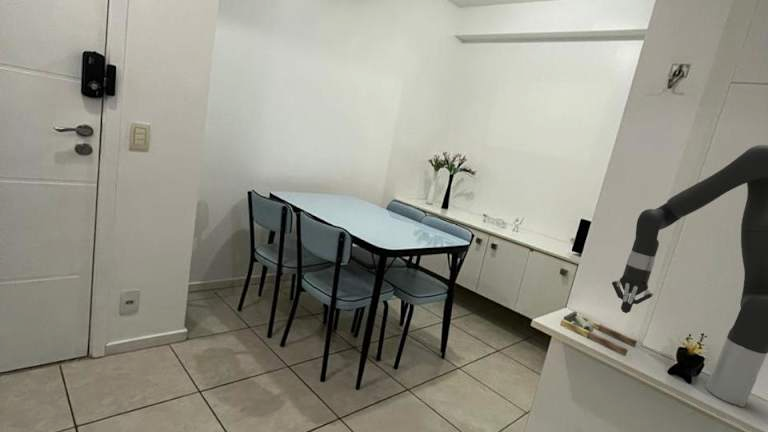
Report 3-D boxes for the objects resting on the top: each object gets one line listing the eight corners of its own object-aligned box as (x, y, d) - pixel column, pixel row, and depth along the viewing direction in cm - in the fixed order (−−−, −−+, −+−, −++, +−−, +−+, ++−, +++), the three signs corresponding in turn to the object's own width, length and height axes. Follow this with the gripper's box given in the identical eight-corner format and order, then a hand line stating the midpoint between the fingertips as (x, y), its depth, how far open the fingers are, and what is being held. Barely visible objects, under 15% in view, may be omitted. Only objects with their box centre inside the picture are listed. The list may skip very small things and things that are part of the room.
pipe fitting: (589, 328, 152) (572, 323, 152) (593, 319, 151) (576, 314, 151) (598, 338, 144) (580, 333, 144) (602, 329, 143) (584, 323, 144)
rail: (635, 345, 143) (638, 338, 142) (624, 356, 133) (627, 348, 133) (573, 317, 158) (576, 310, 157) (560, 324, 148) (562, 317, 147)
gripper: (664, 271, 135) (648, 318, 139) (621, 258, 144) (608, 302, 148) (659, 274, 130) (643, 322, 133) (615, 260, 139) (601, 306, 142)
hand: (624, 312), depth 141 cm, fingers closed
